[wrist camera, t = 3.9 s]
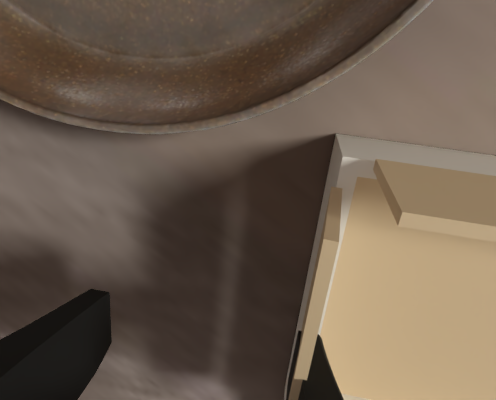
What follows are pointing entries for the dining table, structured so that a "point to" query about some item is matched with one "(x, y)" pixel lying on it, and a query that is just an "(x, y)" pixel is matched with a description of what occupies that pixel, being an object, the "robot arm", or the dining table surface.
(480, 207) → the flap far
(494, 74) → the dining table surface
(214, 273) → the dining table surface
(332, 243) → the flap
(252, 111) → the plant saucer
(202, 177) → the dining table surface
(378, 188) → the carton
